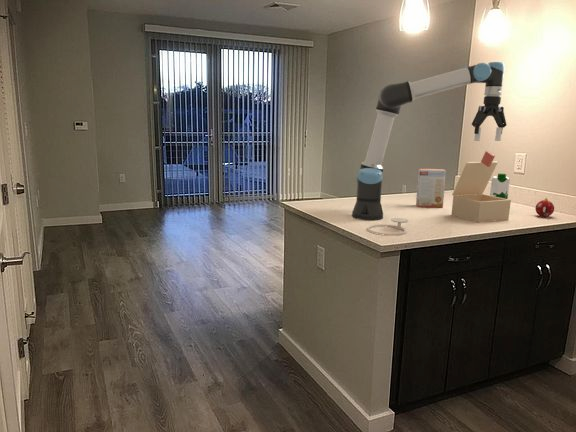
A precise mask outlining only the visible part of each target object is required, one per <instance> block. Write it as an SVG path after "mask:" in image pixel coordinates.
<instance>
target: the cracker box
mask: <svg viewBox="0 0 576 432" xmlns="http://www.w3.org/2000/svg"><path fill="white" fill-rule="evenodd" d="M417 171H418V173H417V185H416V196H415V198H416V199H415V206H417V207H418V208H441V209H442V208H444V198H445V188H446V187H445V186H446V175H447V173H446V172H447V170H445V169H441V168H439V169H437V168H418V170H417Z"/></svg>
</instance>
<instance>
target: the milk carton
mask: <svg viewBox="0 0 576 432" xmlns="http://www.w3.org/2000/svg"><path fill="white" fill-rule="evenodd" d="M491 177H492V178H491V184H490V191H489V195H490V196H495V197H499V198H504V199H509V190H510V189H509V188H510V178H509V177H508V176H507V174H506V173H497V176H493V175H492V176H491Z"/></svg>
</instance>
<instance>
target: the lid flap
mask: <svg viewBox="0 0 576 432" xmlns="http://www.w3.org/2000/svg"><path fill="white" fill-rule="evenodd" d="M495 157H496V155H495V154H493V153H492V152H491V151H489V150H486V151H485V152H484V154H483V157H482V158H481V161H466V163H465V165H464V167H463V170H462V172H461V174H460V176H459V179H458V181H457V183H456V186H455V187H454V190H453V192H452V194H451V195H452V196H458V195H474V194H484V192H485V190H486V189H487V185H488V183H489V181H490V180H491V179H492V178H491V177H493V173H494V172H495V170H496V168H497V165H498V163H499V162H498V161H494V159H495Z"/></svg>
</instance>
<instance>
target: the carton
mask: <svg viewBox="0 0 576 432" xmlns="http://www.w3.org/2000/svg"><path fill="white" fill-rule="evenodd" d="M452 196H453V195H452ZM511 201H512V200H511V199H509V198H507V199H504V198H499V197H495V196H490V194H485V193H483V194H472V195H456V196H453V197H452V204H451V206H452V207H451V216H453V217H458V218H461V219H463V220H467V221H471V222H475V223H478V224H479V223H487V222H499V221H509V218H510V209H511Z"/></svg>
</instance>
